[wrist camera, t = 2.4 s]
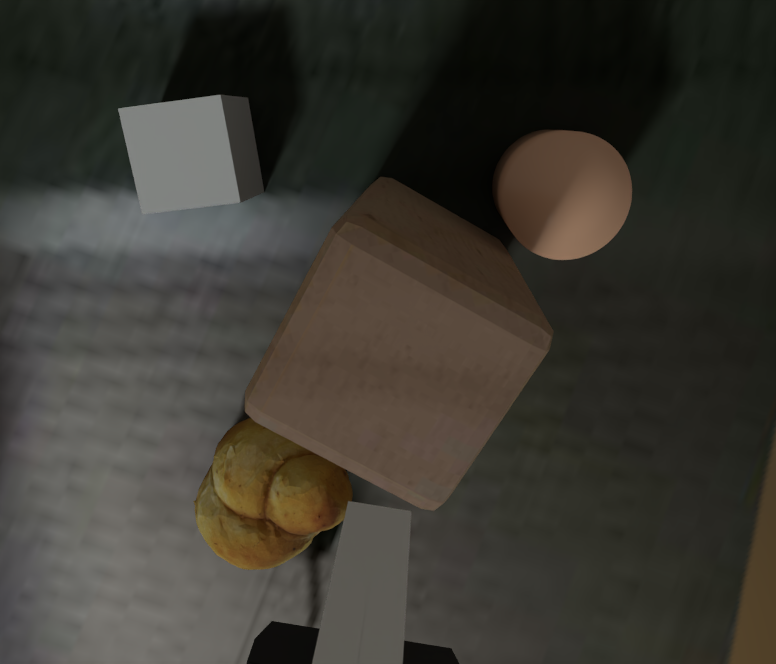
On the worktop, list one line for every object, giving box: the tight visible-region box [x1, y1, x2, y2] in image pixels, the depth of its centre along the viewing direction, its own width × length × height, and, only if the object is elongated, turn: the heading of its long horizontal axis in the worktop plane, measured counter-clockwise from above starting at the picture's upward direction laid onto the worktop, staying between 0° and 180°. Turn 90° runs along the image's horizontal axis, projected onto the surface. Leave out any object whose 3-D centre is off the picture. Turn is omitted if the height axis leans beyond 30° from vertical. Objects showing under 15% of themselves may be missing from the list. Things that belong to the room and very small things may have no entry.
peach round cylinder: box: [492, 129, 632, 260], centre depth 40 cm, size 7×7×7 cm
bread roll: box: [193, 417, 353, 570], centre depth 48 cm, size 13×10×8 cm
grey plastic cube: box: [118, 95, 264, 214], centre depth 42 cm, size 6×6×6 cm
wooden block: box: [245, 177, 553, 511], centre depth 37 cm, size 10×10×20 cm
